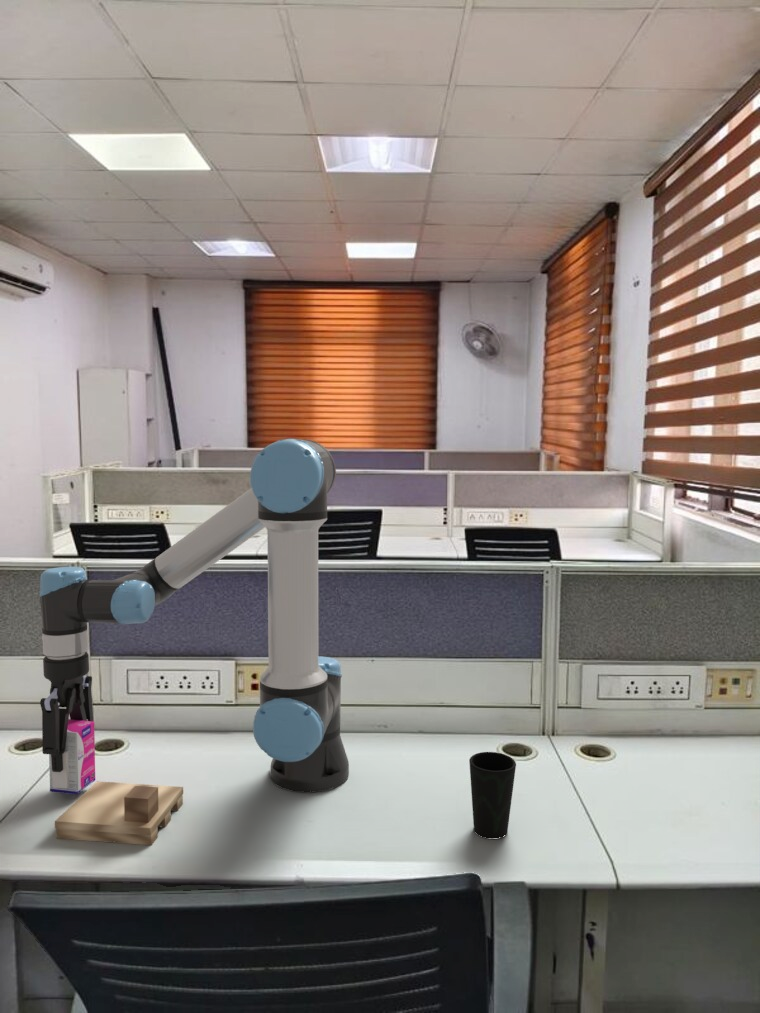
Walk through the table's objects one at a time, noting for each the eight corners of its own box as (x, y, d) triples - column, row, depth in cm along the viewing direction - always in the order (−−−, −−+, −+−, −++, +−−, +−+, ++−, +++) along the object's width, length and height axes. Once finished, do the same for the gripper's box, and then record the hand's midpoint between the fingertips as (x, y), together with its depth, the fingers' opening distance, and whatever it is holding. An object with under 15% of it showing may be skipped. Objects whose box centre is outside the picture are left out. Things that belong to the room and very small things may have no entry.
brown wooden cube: (158, 810, 122) (158, 787, 121) (148, 822, 118) (148, 798, 117) (135, 808, 122) (135, 785, 122) (124, 821, 118) (124, 797, 118)
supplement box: (79, 795, 130) (76, 732, 129) (49, 792, 131) (45, 730, 130) (97, 780, 136) (94, 720, 134) (68, 777, 137) (65, 718, 136)
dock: (183, 803, 130) (183, 787, 130) (150, 846, 116) (150, 828, 116) (97, 797, 132) (97, 781, 132) (55, 839, 118) (54, 821, 118)
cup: (502, 847, 117) (505, 775, 116) (459, 833, 121) (461, 764, 120) (520, 827, 124) (522, 758, 123) (479, 814, 128) (480, 747, 127)
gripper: (73, 639, 141) (78, 755, 143) (14, 669, 122) (20, 802, 124) (110, 640, 140) (114, 757, 142) (57, 670, 121) (62, 804, 123)
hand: (71, 778), depth 133 cm, fingers closed on supplement box, 6 cm apart
